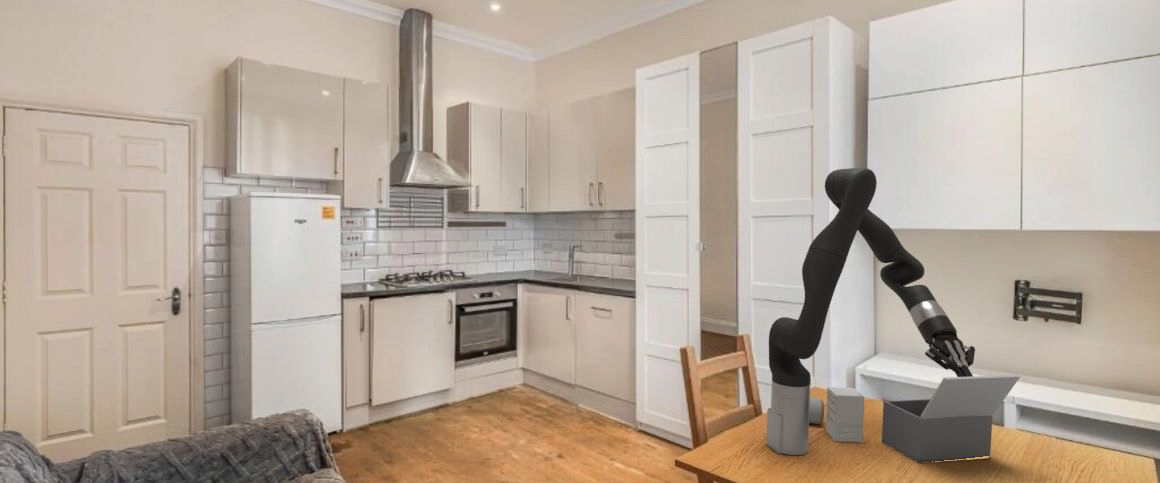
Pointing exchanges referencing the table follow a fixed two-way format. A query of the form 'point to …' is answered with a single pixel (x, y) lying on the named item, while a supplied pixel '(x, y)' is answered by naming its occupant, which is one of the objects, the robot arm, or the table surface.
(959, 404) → the lid
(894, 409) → the storage box
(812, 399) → the ceramic mug
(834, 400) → the supplement box
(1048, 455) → the table surface
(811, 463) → the table surface
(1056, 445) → the table surface
